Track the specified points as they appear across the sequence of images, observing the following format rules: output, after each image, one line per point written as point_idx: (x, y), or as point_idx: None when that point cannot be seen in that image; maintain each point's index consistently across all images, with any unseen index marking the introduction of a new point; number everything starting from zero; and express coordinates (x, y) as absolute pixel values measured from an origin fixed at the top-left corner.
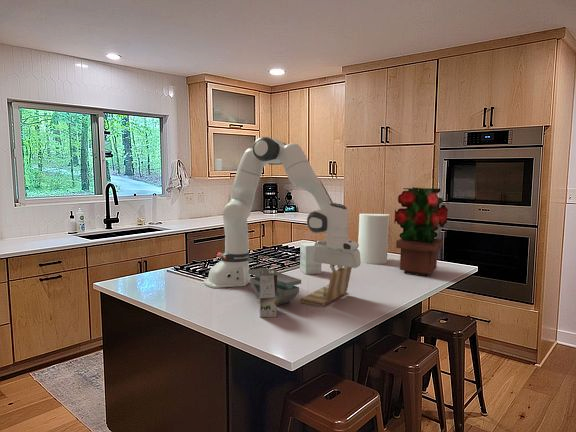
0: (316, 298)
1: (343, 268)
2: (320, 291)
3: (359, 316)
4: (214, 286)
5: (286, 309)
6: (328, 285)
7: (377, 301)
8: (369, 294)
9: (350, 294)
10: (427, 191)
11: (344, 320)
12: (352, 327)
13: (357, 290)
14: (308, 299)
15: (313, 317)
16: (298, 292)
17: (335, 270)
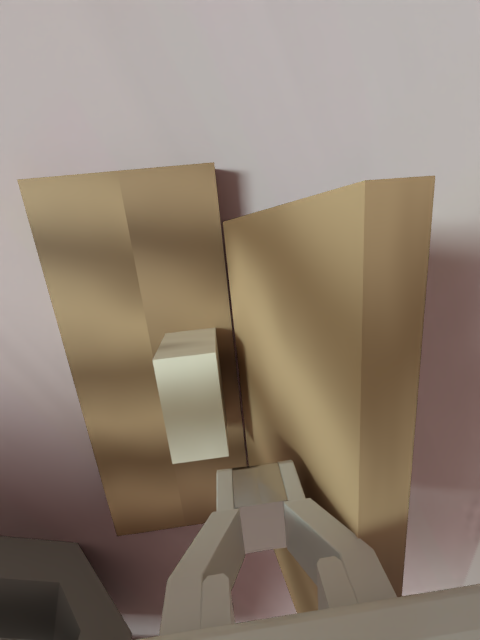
0: (178, 477)
1: (384, 527)
2: (100, 352)
3: (446, 482)
4: None
5: (145, 609)
6: (178, 411)
7: (469, 213)
8: (376, 83)
9: (260, 190)
10: None
11: (406, 550)
12: (456, 579)
13: (253, 34)
14: (156, 515)
15: (290, 599)
16: (130, 638)
17: (240, 513)
